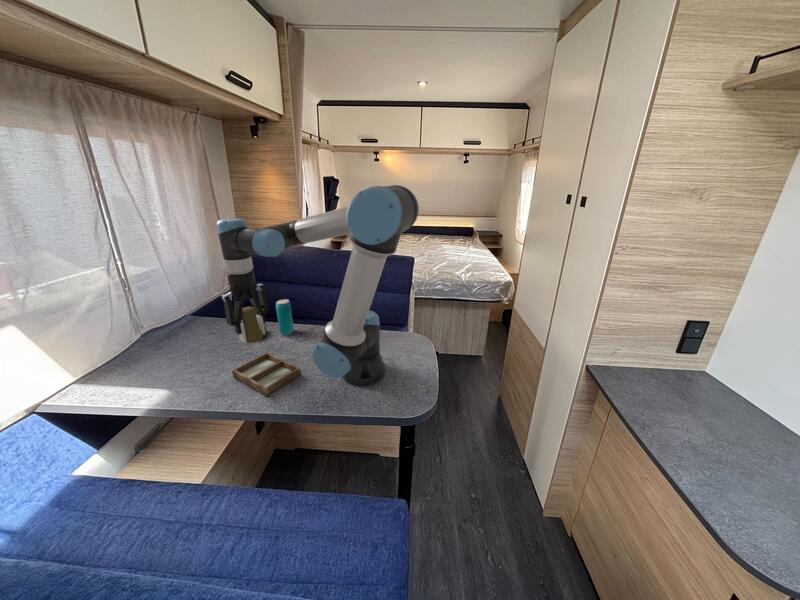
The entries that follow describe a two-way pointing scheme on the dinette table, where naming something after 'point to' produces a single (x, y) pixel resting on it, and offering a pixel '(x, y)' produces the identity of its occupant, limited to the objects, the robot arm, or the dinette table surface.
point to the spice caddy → (266, 373)
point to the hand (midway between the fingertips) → (252, 337)
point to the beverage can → (284, 317)
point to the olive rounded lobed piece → (251, 324)
